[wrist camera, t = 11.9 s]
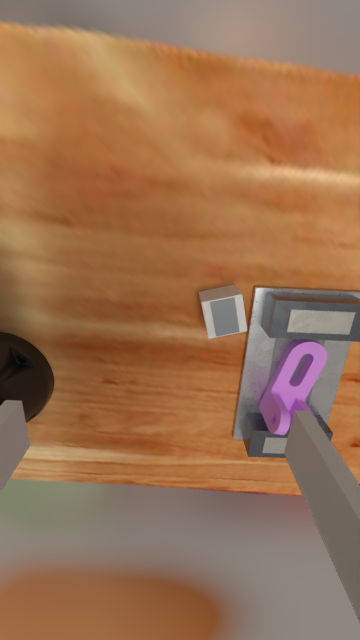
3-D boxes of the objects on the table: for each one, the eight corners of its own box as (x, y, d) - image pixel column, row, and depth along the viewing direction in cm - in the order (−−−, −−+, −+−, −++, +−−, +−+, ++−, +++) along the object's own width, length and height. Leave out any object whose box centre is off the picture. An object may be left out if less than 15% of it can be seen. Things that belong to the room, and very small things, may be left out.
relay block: (205, 324, 41) (208, 339, 36) (198, 291, 39) (201, 302, 34) (239, 317, 40) (247, 331, 36) (234, 284, 39) (242, 294, 34)
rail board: (232, 434, 48) (238, 459, 43) (254, 285, 39) (265, 296, 34) (318, 437, 48) (334, 462, 44) (360, 290, 39) (387, 302, 34)
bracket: (290, 413, 45) (309, 447, 38) (258, 405, 44) (272, 439, 38) (328, 343, 41) (357, 368, 34) (293, 333, 40) (316, 356, 33)
